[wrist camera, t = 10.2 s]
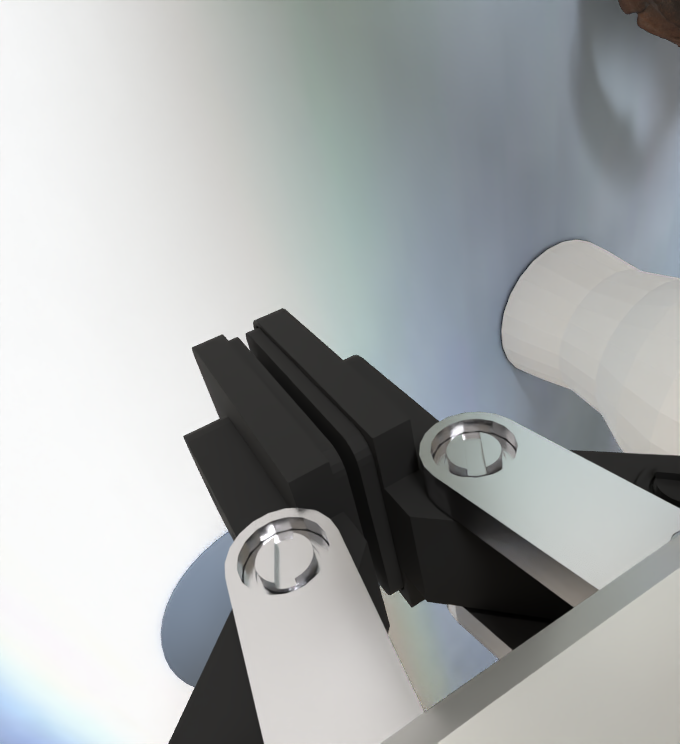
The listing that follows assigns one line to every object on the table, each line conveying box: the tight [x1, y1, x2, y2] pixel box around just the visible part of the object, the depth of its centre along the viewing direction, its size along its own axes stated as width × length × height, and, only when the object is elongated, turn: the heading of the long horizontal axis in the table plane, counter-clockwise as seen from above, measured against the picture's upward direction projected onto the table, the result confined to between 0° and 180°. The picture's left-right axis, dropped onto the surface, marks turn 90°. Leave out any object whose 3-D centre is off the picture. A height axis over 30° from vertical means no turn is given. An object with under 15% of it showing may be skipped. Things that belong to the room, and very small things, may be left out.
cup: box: [501, 239, 680, 456], centre depth 28 cm, size 11×11×15 cm
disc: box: [161, 532, 380, 687], centre depth 33 cm, size 13×13×1 cm
